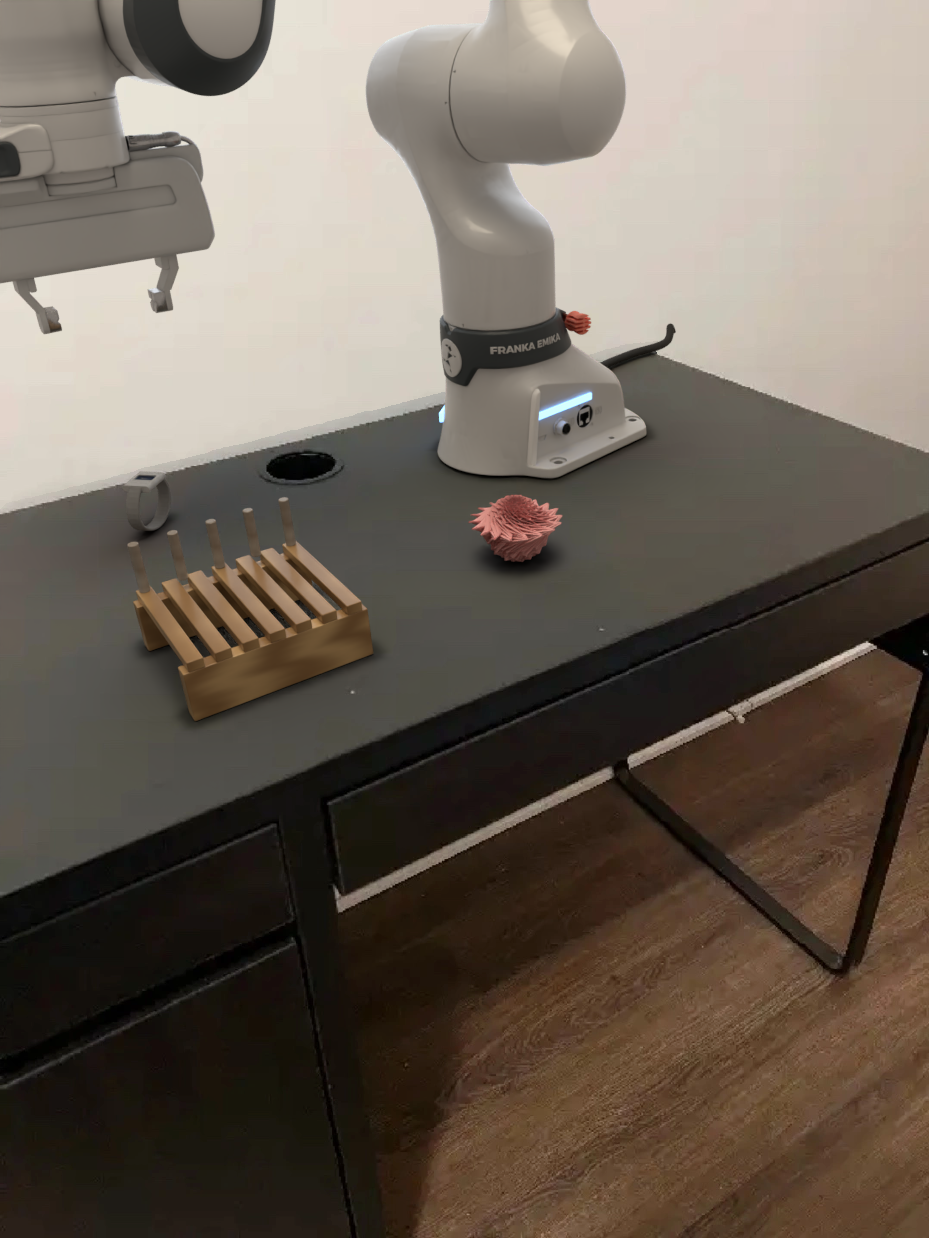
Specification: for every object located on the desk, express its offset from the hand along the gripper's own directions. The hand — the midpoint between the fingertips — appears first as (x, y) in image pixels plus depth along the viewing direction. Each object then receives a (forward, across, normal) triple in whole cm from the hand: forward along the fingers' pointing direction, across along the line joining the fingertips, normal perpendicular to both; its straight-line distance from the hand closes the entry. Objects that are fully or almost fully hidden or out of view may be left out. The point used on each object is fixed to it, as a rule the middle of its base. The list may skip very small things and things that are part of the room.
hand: (108, 321), depth 87 cm
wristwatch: (+20, 0, -1) cm, 20 cm away
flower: (+20, -24, +25) cm, 40 cm away
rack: (+20, 0, +25) cm, 32 cm away
